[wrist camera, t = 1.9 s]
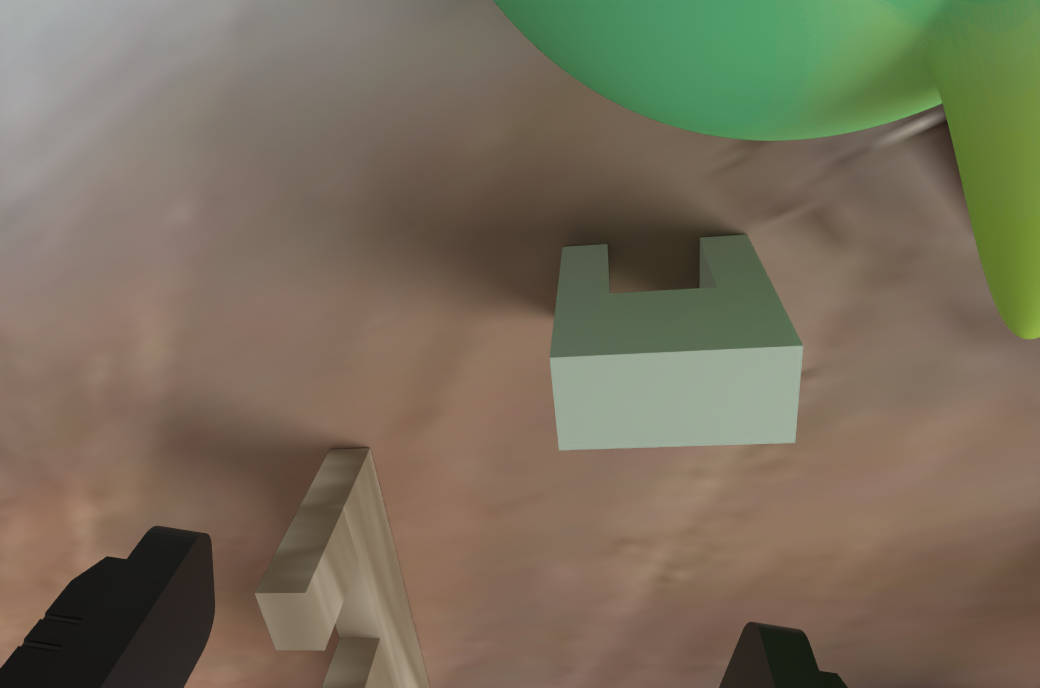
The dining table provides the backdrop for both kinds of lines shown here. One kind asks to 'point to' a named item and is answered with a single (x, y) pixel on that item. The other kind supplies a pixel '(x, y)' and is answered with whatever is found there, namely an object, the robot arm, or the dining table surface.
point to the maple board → (344, 581)
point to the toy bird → (834, 89)
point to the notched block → (673, 355)
